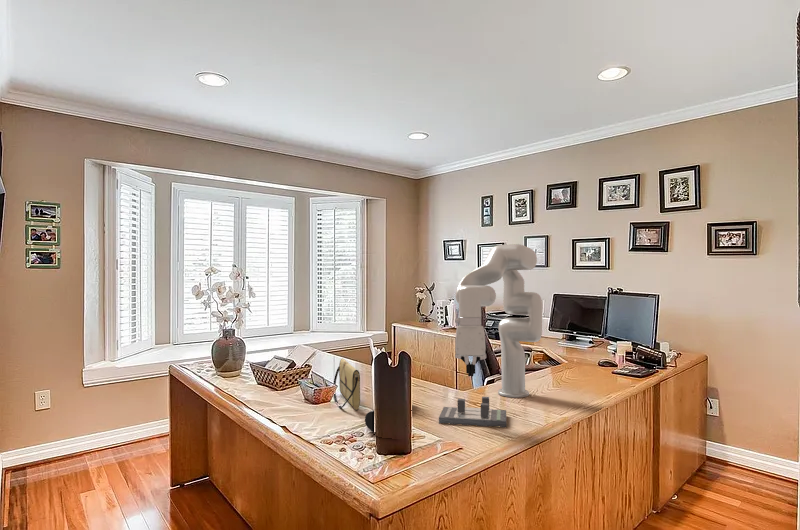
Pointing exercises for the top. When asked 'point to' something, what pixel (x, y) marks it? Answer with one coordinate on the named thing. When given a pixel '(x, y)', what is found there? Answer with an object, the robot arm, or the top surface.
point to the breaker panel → (473, 417)
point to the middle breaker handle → (461, 405)
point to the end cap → (370, 420)
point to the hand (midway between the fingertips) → (470, 375)
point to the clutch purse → (348, 383)
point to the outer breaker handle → (484, 410)
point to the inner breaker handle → (485, 400)
